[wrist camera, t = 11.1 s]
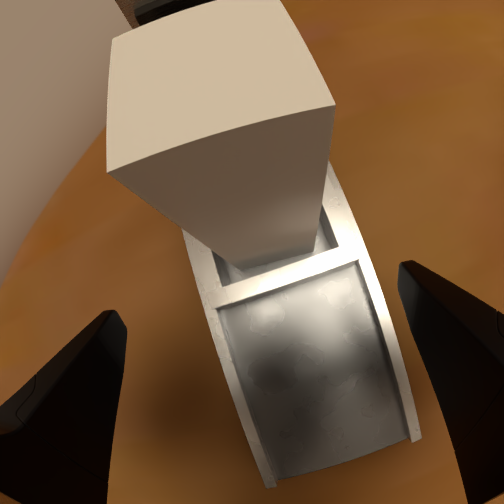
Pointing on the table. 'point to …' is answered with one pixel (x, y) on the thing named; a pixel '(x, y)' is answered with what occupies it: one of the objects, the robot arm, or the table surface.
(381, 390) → the rail
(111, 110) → the white angular block
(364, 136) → the table surface
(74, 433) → the robot arm
